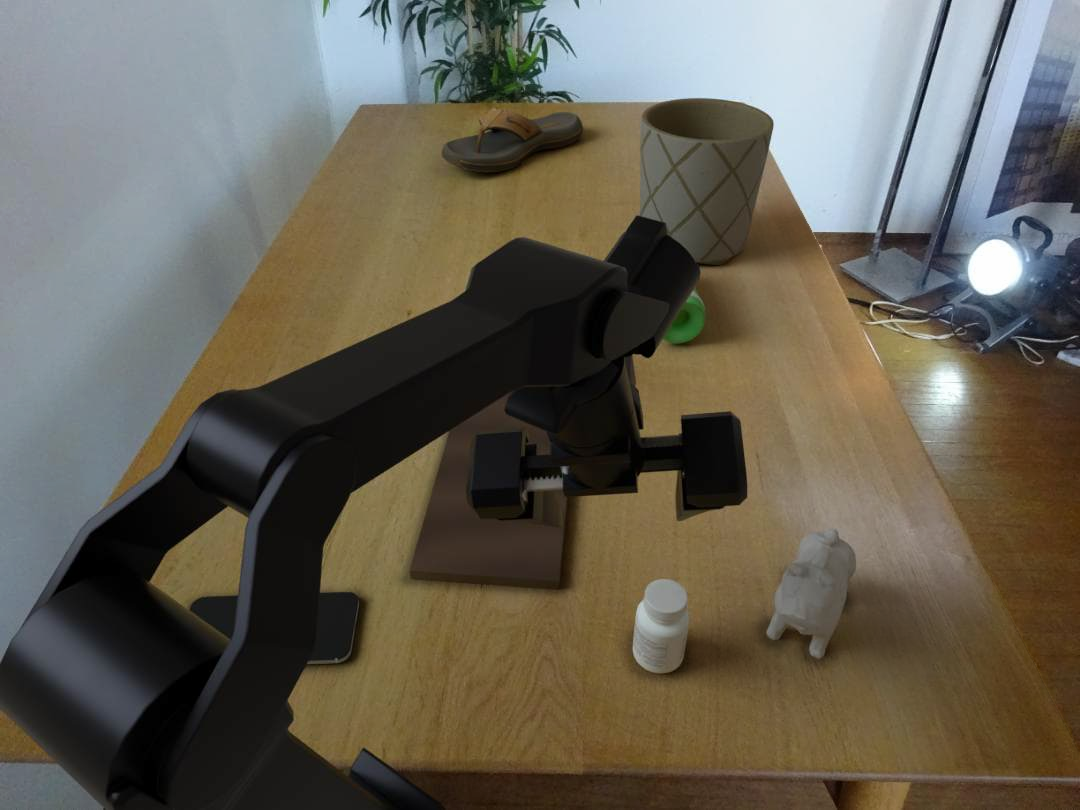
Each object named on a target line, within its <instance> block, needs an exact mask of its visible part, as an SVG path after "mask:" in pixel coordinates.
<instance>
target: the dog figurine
mask: <svg viewBox="0 0 1080 810" xmlns="http://www.w3.org/2000/svg"><path fill="white" fill-rule="evenodd" d="M856 568H857V556H856V553H855V550H854V549H853V548H852V546H851V545H850V544H849V543H848V542H846V541H845V540H843V539H841V538H840V535H839V530H837V529H836V528H830V529H827V530H826V531H823V532H822V531H817V532H810V533H809V534H807V535H806V536H804V537H803V539H802V540H801V541H800V544H799V546H798V550H797V553H796V559H795V560H794V561H793V563H789V565H787V568H786V570H785V571H784V572H783V575H782V578H781V583H780V584H779V585H778V587H777V589H776V592H775V594H774V608H775V612H774V614H773V616H772V618H771V620H770V623H769V625H768V627H767V629H766V636H767V637H768V638H769V639H770V640H772V641H778V640H779V639H781V637H782V635H783V633H784V632H785V631H786V630H787V628H788V626H790V627H792V628H793V629H795V630H797V631H798V633H799V634H800V635H804V636H807V635H809V636H812V638H811V641H810V644H809V649H808V651H809V655H810V656H812V657H813V658H816V659H821V658H823V657H824V656H825V652H826V649H827V647H828V644H829V642H830V641H829V640H830V639H831V637H832V636H833V633H834V632H835V629H836V628H837V625H838V623H839V621H840V619H841V617H842V613H843V609H844V607H845V603H846V600H847V592H848V589H849V585H850V582H851V579H852V578H853V577H854V575H855V573H856V571H857V570H856Z"/></svg>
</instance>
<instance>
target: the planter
mask: <svg viewBox="0 0 1080 810" xmlns="http://www.w3.org/2000/svg"><path fill="white" fill-rule="evenodd" d="M774 126H775V123H774V119H773V118H772V117H771V116H770V115H769V114H768V113H767V112H765V111H764V110H761V109H760V108H758V107H755V106H753V105H749V104H746V103H743V102H738V101H734V100H728V99H720V98H710V97H709V98H707V97H687V98H677V99H671V100H665V101H661V102H658V103H656V104H653V105H651V106H649V107H648V108H646V109H645V110H644V111H643V112H642V114H641V117H640V149H639V151H640V153H639V154H640V156H639V158H640V159H639V160H640V161H639V165H640V166H639V177H640V178H639V216H642V217H646V218H650V219H654V220H657V221H661V222H665V223H666V226H667V235H669V236H670V237H672V238H673V239H675V240H676V241H678V242H679V243H680V244H681V245H682V246H683V247H684V248H685V249H687V250H688V252H689V253H690V254H691V256H692V257H693V258H694V260H695V262H696V263H697V264H702V265H703V264H705V265H715V266H722V265H725V263H726V262H727V261H729V259H730V258H732V257H734V256H735V255H737V254H738V253H740V252H741V251H743V249H745V247H746V245H747V241H748V238H749V234H750V229H751V225H752V221H753V216H754V212H755V209H756V204H757V199H758V195H759V192H760V188H761V183H762V178H763V175H764V170H765V167H766V162H767V158H768V155H769V154H768V153H769V149H770V144H771V141H772V136H773V131H774Z"/></svg>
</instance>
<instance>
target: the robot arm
mask: <svg viewBox="0 0 1080 810" xmlns="http://www.w3.org/2000/svg"><path fill="white" fill-rule="evenodd" d="M701 274H702V273H701V267H700V265H699V263H696V262H695V260H694V258H693V257H692V256H691V254H690V253H689V252H688V250H687V249H685V248H684V247H683V246H682V245H681V244H680V243H679V242H678V241H676V240H675V239H673V238H672V237H670V236H669V235H667V226H666V223H665V222H661V221H657V220H654V219H650V218H646V217H642V216H640V214H639V215H635V217H634V218H633V220H632V221H631V222H630V224H629V225H628V226H627V229H626V230H625V231H624V232H623V233H622V234H621V236H620V237H619V238H618V239H617V241H616V242H615V244H614V245H613V247H612V248H611V250H609V252H608V253H607V255H606V257H605V258H604V259H602V260H601V259H598V258H595V257H591V256H588V255H585V254H582V253H579V252H576V251H572V250H568V249H565V248H563V247H558V246H556V245H553V244H549V243H546V242H542V241H539V240H536V239H532V238H529V237H525V236H521V237H520V236H519V237H515V238H513V239H512V240H509V241H508V242H507V243H505V244H504V245H502V246H501V247H499V248H497V249H496V250H495V251H492V252H491V253H490V254H488V255H487V256H486V257H484V258H483V259H482V260H480V261H478V262H477V263H476V264H475V265H473V267H471V269H470V273H469V277H468V279H467V283H466V287H465V290H464V291H463V292H461V294H459V295H457V296H456V297H455V298H453V299H451V300H450V301H447V302H445V303H443V304H440V305H439V306H436V307H434V308H432V309H429V310H427V311H424V312H423V313H420V314H418V315H416V316H414V317H412V318H410V319H407V320H405V321H403V322H400V323H398V324H396V325H394V326H391V327H390V328H387V329H385V330H382V331H381V332H378V333H376V334H374V335H371V336H369V337H367V338H365V339H362V340H360V341H358V342H355V343H353V344H351V345H349V346H346V347H345V348H342V349H340V350H337V351H336V352H334V353H331V354H329V355H327V356H325V357H323V358H319V359H318V360H316V361H313V362H311V363H309V364H307V365H305V366H303V367H300V368H298V369H296V370H294V371H291V372H289V373H287V374H284V375H283V376H280V377H278V378H276V379H273V380H271V381H269V382H267V383H265V384H263V385H260V386H256V387H253V388H246V389H245V388H244V389H235V388H233V389H228V390H223V391H219V392H216V393H215V394H213V395H211V396H209V398H207V399H206V400H204V401H203V402H201V403H200V404H199V405H198V407H196V409H195V410H194V412H192V414H191V415H190V416H189V417H188V419H187V420H186V422H185V424H184V426H183V427H182V428H181V431H180V432H179V434H178V436H177V437H176V439H175V441H174V442H173V444H172V446H171V447H170V449H169V451H168V452H167V454H166V455H165V457H164V458H163V461H162V462H161V463H160V465H158V467H156V468H155V469H153V470H152V471H151V472H149V473H148V474H147V475H145V476H144V477H143V478H141V479H140V480H139V481H138V482H136V483H135V484H133V485H132V486H131V487H130V488H128V489H127V490H126V491H124V492H123V493H122V494H121V495H118V497H116V498H115V499H114V500H113V501H111V502H110V503H108V505H106V506H105V507H104V508H102V509H101V510H100V511H98V512H97V513H95V514H94V515H93V516H91V517H90V518H89V519H88V520H86V522H85V523H84V524H83V525H82V526H81V527H80V528H79V530H78V532H77V533H76V535H75V537H74V538H73V540H72V542H71V544H70V545H69V547H68V548H67V550H66V552H65V553H64V555H63V557H62V558H61V560H60V562H59V563H58V565H57V567H56V568H55V569H54V571H53V572H52V574H51V576H50V578H49V580H48V581H47V583H46V585H45V586H44V588H43V589H42V592H41V593H40V595H38V596H39V597H38V598H37V599H36V601H35V603H34V605H33V606H32V608H31V609H30V611H29V613H28V614H27V616H26V618H25V620H24V621H23V622H22V625H21V626H20V627H19V629H18V631H17V632H16V633H15V634H14V636H13V637H12V638H11V640H10V642H9V644H8V646H7V647H6V650H5V652H4V653H3V656H2V659H1V661H0V711H1V712H3V714H5V716H7V717H8V718H9V719H10V720H11V721H12V722H13V723H14V724H15V725H16V726H17V727H18V728H19V729H21V731H23V733H25V734H26V735H27V736H28V737H29V738H30V739H31V740H32V742H34V743H35V744H36V745H37V746H38V747H39V748H40V749H41V750H42V751H43V752H44V753H45V754H46V755H48V756H49V757H50V759H52V760H53V761H54V762H55V763H56V764H57V765H58V766H59V767H60V768H61V769H62V770H63V771H64V772H65V773H66V774H67V775H69V776H70V777H71V778H72V779H73V780H74V781H75V782H76V783H77V784H78V785H79V786H80V787H81V788H82V789H83V790H84V791H85V792H86V793H88V794H89V795H90V796H91V797H92V798H93V799H94V800H95V801H96V802H97V803H98V804H99V805H100V807H103V809H104V810H448V809H447V808H446V807H445V806H444V805H443V804H442V802H440V801H439V800H438V799H436V798H435V797H433V796H432V795H431V794H430V793H428V792H427V791H425V790H424V789H423V788H421V787H420V786H418V785H417V784H416V783H414V782H413V781H412V780H410V779H408V778H407V777H406V776H404V775H403V774H401V772H399V771H397V770H396V769H395V768H394V767H392V766H390V765H389V764H387V763H386V762H385V761H384V760H383V759H380V757H378V756H377V755H375V754H374V753H372V752H371V750H369V749H367V748H365V746H364V747H362V748H361V749H360V751H359V753H358V755H357V756H356V758H355V759H354V761H353V763H352V764H351V766H346V767H345V768H344V769H343V770H342V771H341V770H340V769H339V768H337V767H336V766H335V765H334V764H332V763H331V762H330V761H328V760H327V759H325V757H323V756H322V755H320V754H319V753H318V752H316V751H315V750H314V749H313V748H312V747H310V746H308V744H306V743H305V742H304V741H302V740H301V739H300V738H298V737H297V736H296V735H294V734H293V733H292V732H291V731H290V730H289V728H290V727H291V725H292V724H293V722H294V721H295V719H294V717H295V716H294V713H295V712H294V710H293V707H292V706H291V704H290V702H289V698H290V696H291V695H292V694H293V693H292V692H293V691H294V689H295V687H296V685H297V683H298V682H299V679H300V678H301V676H302V674H303V672H304V670H305V669H306V666H307V665H308V664H307V663H308V661H309V659H310V657H311V655H312V654H313V651H314V647H315V644H316V640H317V626H318V613H319V599H320V593H321V585H322V584H321V583H322V571H323V558H324V556H323V555H324V546H325V543H326V542H327V539H328V537H329V536H330V535H331V532H332V531H333V529H334V527H335V525H336V523H337V521H338V519H339V518H340V516H341V514H342V512H343V510H344V508H345V506H346V505H347V503H348V501H349V499H350V496H351V494H353V493H354V492H356V491H357V490H359V489H360V488H362V487H363V486H365V485H367V484H368V483H370V482H372V481H373V480H374V479H376V478H378V477H379V476H381V475H382V474H384V473H385V472H387V471H389V470H391V469H392V468H393V467H395V466H397V465H399V464H400V463H402V462H403V461H405V460H406V459H408V458H409V457H411V456H412V455H414V454H415V453H417V452H419V451H420V450H422V449H423V448H425V447H427V446H428V445H429V444H431V443H433V442H434V441H436V440H437V439H440V437H442V436H444V435H445V434H447V433H449V431H450V430H452V429H453V428H455V427H456V426H458V425H459V424H461V423H463V422H464V421H466V420H467V419H469V418H470V417H472V416H474V415H475V414H477V413H478V412H480V411H481V410H483V409H485V408H486V407H488V406H489V405H491V404H492V403H494V402H496V401H497V400H499V399H500V398H502V397H503V396H505V395H507V394H508V393H510V392H511V393H510V394H509V395H508V398H507V401H506V404H505V408H504V412H505V414H506V415H508V416H511V417H513V418H515V419H518V420H520V421H523V422H525V423H527V424H530V425H532V426H534V427H537V428H539V429H541V430H544V431H546V432H547V435H548V438H549V440H550V443H551V449H550V454H549V455H539V452H538V447H537V444H528V445H525V444H526V443H528V442H529V433H528V431H527V428H526V427H520V428H508V429H495V430H482V431H480V432H479V433H478V434H477V435H476V436H475V437H474V439H473V440H472V441H471V444H470V454H469V464H468V473H467V483H466V497H467V503H468V505H469V506H470V508H471V509H472V511H473V513H474V514H475V515H476V516H477V517H478V518H480V519H481V520H482V519H497V520H498V521H512V522H521V523H531V524H538V525H545V526H551V527H562V526H563V514H562V511H561V507H560V504H559V502H558V500H557V498H556V496H555V494H554V492H553V490H563V493H564V495H565V497H568V498H576V497H577V498H578V497H590V496H591V497H592V496H593V497H594V496H608V495H609V496H611V495H625V494H638V493H639V478H638V477H639V476H640V475H641V474H644V473H645V474H646V473H658V472H659V473H660V472H675V471H676V472H677V475H676V485H675V494H674V498H675V500H674V501H675V517H676V518H675V519H676V521H677V522H683V521H686V520H688V519H690V518H692V517H695V516H698V515H701V514H704V513H707V512H710V511H718V510H723V509H724V508H726V507H733V506H735V507H736V506H737V507H738V506H740V505H741V504H743V503H744V501H745V500H746V499H748V476H747V465H746V457H745V448H744V439H743V430H742V422H741V419H740V418H739V417H738V416H737V415H735V413H734V412H732V411H731V410H730V411H717V412H705V413H704V412H702V413H692V414H691V413H690V414H681V415H680V425H681V426H680V429H681V433H678V434H670V435H669V434H668V435H655V436H644V437H643V436H642V437H641V432H640V431H642V430H644V412H643V406H642V402H641V396H640V390H639V389H638V388H637V387H636V386H637V380H636V379H637V378H636V372H635V371H636V370H635V364H634V357H633V355H637V356H638V355H641V356H642V357H644V358H645V359H650V358H652V357H653V356H654V354H655V353H656V351H657V349H658V347H659V346H660V344H662V341H663V340H664V339H663V338H664V336H665V335H666V333H667V331H668V330H669V328H670V327H671V325H672V323H673V322H674V320H675V319H676V317H677V315H678V314H679V312H680V311H681V309H682V308H683V306H684V304H685V303H686V301H687V300H688V298H689V296H690V295H691V293H692V292H693V290H694V288H695V289H696V287H697V285H698V283H699V282H700V279H701ZM555 478H556V479H555ZM227 508H230V509H232V510H234V511H235V512H237V513H238V514H241V515H242V516H244V517H246V518H247V521H246V525H245V527H244V528H245V529H244V538H243V546H242V555H241V564H240V574H239V582H238V591H237V595H238V599H237V608H236V617H235V627H234V633H233V636H232V638H231V640H230V639H229V638H228V637H226V636H225V635H223V634H222V633H221V632H219V631H218V630H216V629H215V628H214V627H212V626H211V625H209V624H208V623H206V622H205V621H204V620H202V619H201V618H199V617H198V616H197V615H195V614H194V613H192V612H191V611H190V610H189V608H187V607H186V606H184V605H183V604H181V603H179V602H178V601H177V600H176V599H174V598H173V597H171V596H170V595H169V594H167V593H166V592H164V591H163V590H162V589H160V588H159V587H157V586H156V585H155V584H154V583H152V582H151V580H152V579H153V577H154V575H155V574H156V572H157V570H158V568H159V566H161V563H162V562H163V560H164V558H165V556H166V554H168V552H169V551H170V550H172V549H173V548H175V547H176V546H178V544H180V543H181V542H183V541H184V540H185V539H187V538H188V537H189V536H191V535H192V534H193V533H194V532H196V531H197V530H199V529H200V528H201V527H202V526H204V525H205V524H207V523H209V521H210V520H212V519H213V518H214V517H216V516H218V514H220V513H221V512H223V511H224V510H226V509H227Z"/></svg>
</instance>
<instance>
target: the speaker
mask: <svg viewBox="0 0 1080 810" xmlns="http://www.w3.org/2000/svg"><path fill="white" fill-rule="evenodd" d="M705 325H706V307H705V303H704V301H703V299H702V298H701V297H700V295H699V293H698V291H697V289H696V287H695V288H694V290H693V292H692V293H691V295H690V296H689V298H688V300H687V301H686V303H685V304H684V306H683V308H682V309H681V311H680V312H679V314H678V315H677V317H676V319H675V320H674V322H673V323H672V325H671V327H670V328H669V330H668V331H667V333H666V335H665V336H664V338H663V339H662V340H664V341H665V342H667V343H671V344H684V343H687V342H690V341H691V340H693V339H695V338H696V337H697V336H699V335H700V333H701V332H702V331H703V329H704V327H705Z"/></svg>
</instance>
